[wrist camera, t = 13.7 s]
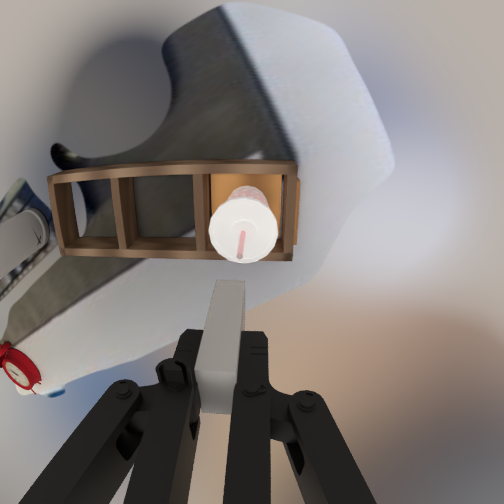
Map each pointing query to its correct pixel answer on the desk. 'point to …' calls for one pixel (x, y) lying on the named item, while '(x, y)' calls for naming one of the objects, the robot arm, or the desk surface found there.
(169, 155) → the desk surface
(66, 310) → the desk surface
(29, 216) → the travel mug
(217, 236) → the beverage cup
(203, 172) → the walnut rack
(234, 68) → the desk surface
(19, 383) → the alarm clock
